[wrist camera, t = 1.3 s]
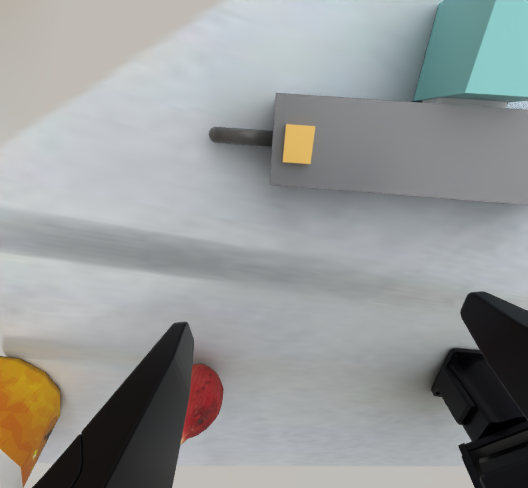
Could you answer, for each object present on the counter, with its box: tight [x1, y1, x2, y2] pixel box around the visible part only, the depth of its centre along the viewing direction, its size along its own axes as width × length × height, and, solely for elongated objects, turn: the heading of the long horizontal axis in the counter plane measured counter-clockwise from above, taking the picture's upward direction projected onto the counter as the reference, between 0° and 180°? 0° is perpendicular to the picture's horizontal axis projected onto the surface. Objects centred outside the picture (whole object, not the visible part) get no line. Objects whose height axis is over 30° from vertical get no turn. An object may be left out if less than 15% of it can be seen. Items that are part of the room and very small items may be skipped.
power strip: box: [209, 93, 528, 205], centre depth 17 cm, size 24×5×5 cm, turn 86°
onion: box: [180, 364, 223, 445], centre depth 26 cm, size 6×6×8 cm
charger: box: [413, 0, 528, 108], centre depth 14 cm, size 4×7×6 cm, turn 176°
